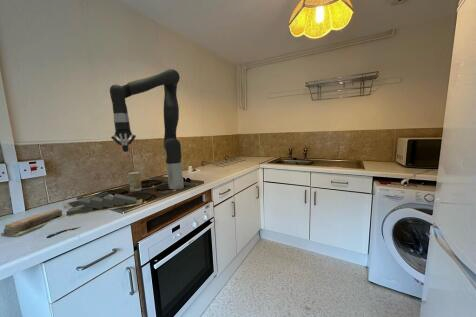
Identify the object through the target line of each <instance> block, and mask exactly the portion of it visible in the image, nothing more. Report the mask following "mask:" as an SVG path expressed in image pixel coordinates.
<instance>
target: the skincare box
mask: <svg viewBox="0 0 476 317" xmlns="http://www.w3.org/2000/svg"><path fill="white" fill-rule="evenodd" d="M127 174H128V182H129V183H128V184H129V191H130V192H129V193H132V192H141V191H142V189H143V188H142V180H141V171H134V172H129V173H127Z"/></svg>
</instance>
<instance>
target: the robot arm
mask: <svg viewBox="0 0 476 317" xmlns="http://www.w3.org/2000/svg"><path fill="white" fill-rule="evenodd" d="M180 78H181V77H180V74H179V72H178V71H177V70H176V69H174V68H169V69H166V70H164V71H162V72H159V73H158V74H155V75H151V76H149V77H148V76H147V77H145V78H140V79H136V80H133V81H130V82H127V83H126V84H124V85H120V84H113V85H111V86H110V87H109V96H110V99H111V104H112V112H113V123H114V130H115V132H114V135H112V136H111V137H110V138H111V139H112V140H113V141H114V142H115V143H116V144H117V145H119V146H122V151H123V152H124V153H128V152H129V145H131V144H132V142H134V141H135V139H136V138H137V135H136V134H133V133H132V131H131V125H130V118H129V114H128V107H127V104H126V102H127V101H126V99H127V98H129V97H131V96H134V95H139V94H141V93H142V94H143V93H145V92H148V91H150V90H152V89H155V88H157V87H160V86H163V88H164V96H163V127H164V134H163V136H164V137H163V148H164V150H165V155H166V158H165V163H166V174H167V181H168V189H170V190H175V191H177V190H182V189H184V188H185V187H184V186H185V185H184V174H183V167H182V145H181V142H180V140H178V139H177V127H178V124H179V119H180V118H179V117H180V110H179V109H180V108H179V106H180V105H179V102H178V97H177V91H178V90H177V89H178V84H179V81H180ZM130 137H131V139H130ZM129 139H130V140H129ZM119 140H120V141H119Z"/></svg>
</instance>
